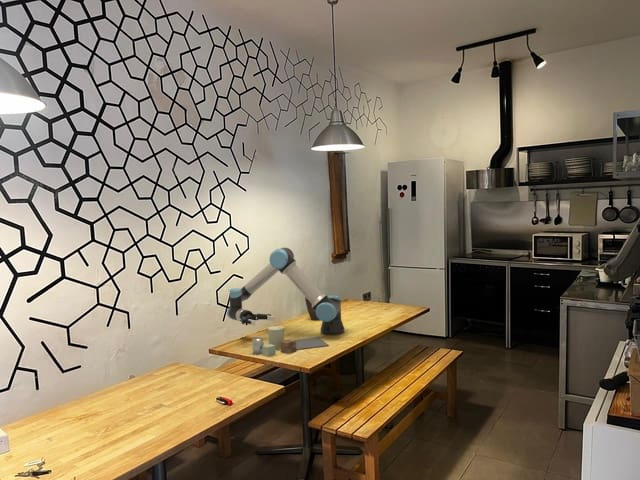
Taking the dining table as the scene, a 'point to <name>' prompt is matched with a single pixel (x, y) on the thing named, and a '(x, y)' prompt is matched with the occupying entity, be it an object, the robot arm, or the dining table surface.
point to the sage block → (268, 350)
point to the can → (276, 336)
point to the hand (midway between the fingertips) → (264, 321)
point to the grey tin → (257, 345)
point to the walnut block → (288, 346)
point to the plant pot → (311, 310)
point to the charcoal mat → (310, 343)
